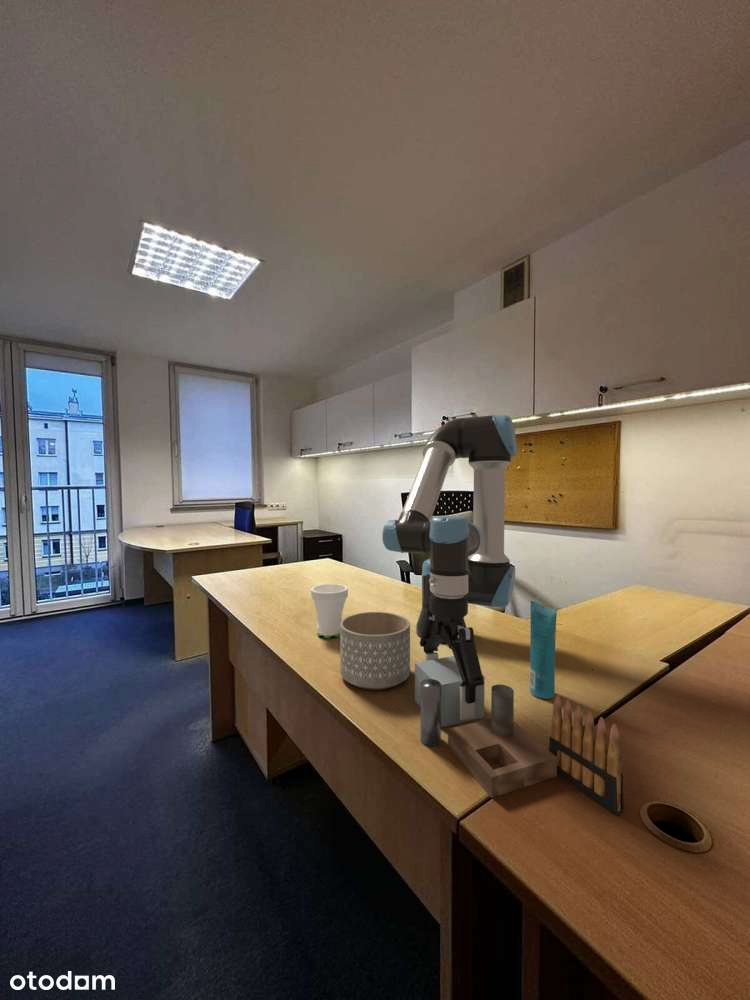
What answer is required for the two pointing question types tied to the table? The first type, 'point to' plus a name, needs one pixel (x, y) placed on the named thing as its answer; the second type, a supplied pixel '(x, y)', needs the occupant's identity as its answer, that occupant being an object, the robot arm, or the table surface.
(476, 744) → the socket board
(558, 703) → the ammunition clip
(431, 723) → the peg
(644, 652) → the table surface
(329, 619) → the cup
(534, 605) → the tube
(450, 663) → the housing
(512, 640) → the table surface
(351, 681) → the planter
